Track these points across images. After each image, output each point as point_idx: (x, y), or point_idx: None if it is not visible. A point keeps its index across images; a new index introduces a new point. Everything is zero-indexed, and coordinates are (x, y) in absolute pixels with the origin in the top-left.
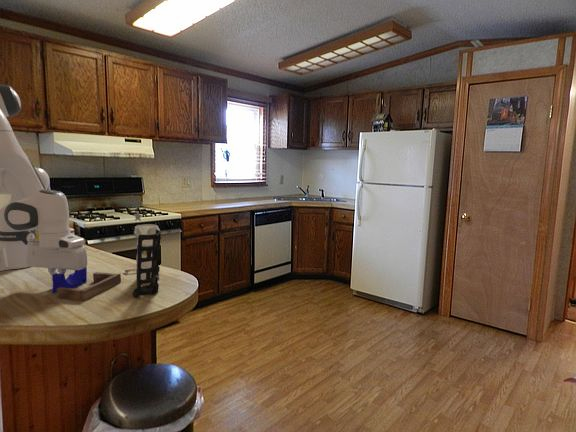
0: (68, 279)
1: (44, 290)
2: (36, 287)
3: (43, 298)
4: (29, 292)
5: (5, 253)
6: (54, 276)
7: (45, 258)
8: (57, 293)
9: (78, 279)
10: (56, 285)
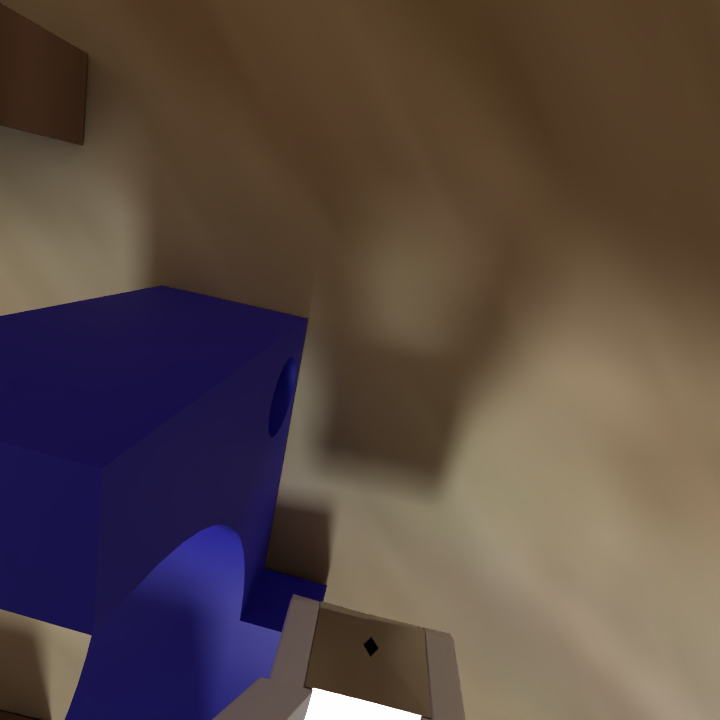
0: None
1: (507, 445)
2: (691, 575)
3: (318, 47)
4: (706, 362)
5: None
6: (67, 415)
7: None
8: (1, 7)
9: (90, 697)
10: (178, 332)
